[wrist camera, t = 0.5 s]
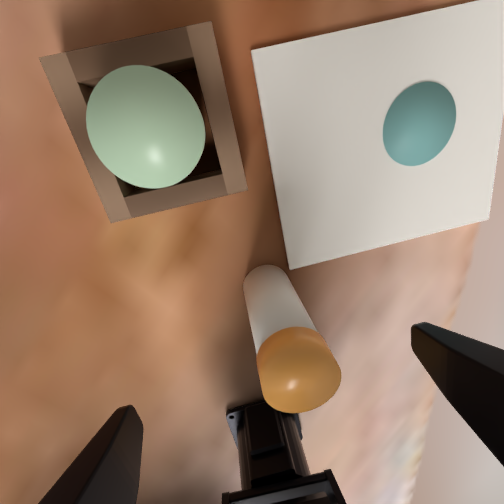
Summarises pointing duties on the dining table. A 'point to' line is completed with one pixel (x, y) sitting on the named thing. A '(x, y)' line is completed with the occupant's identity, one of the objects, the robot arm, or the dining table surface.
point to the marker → (287, 344)
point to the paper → (384, 129)
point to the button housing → (170, 61)
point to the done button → (145, 126)
